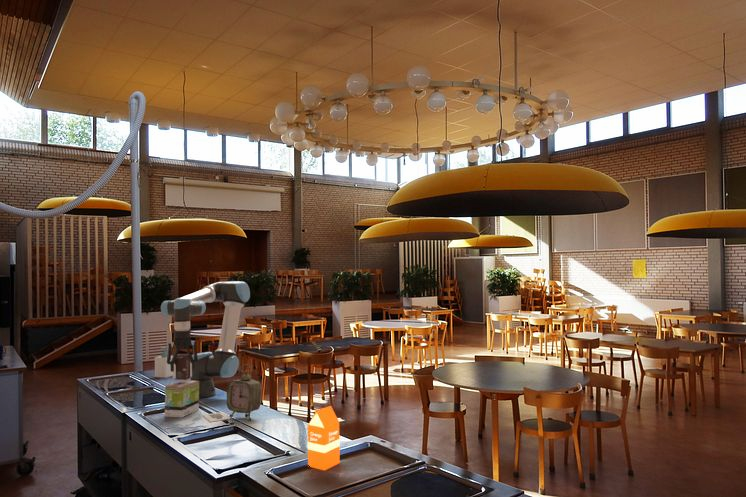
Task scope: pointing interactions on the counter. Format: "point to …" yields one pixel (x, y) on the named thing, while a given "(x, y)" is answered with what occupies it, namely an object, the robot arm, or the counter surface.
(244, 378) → the tabletop clock
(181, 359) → the box
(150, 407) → the counter surface
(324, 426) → the orange juice
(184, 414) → the tea box
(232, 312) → the robot arm
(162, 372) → the soap bottle
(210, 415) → the card
